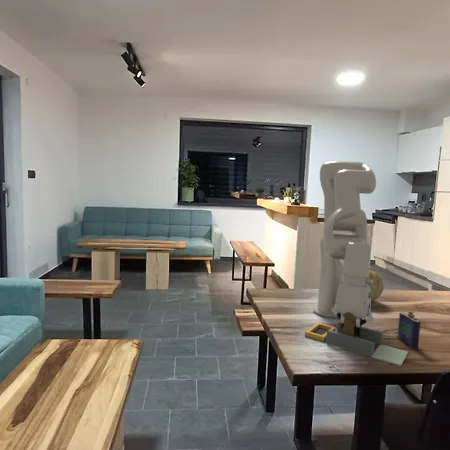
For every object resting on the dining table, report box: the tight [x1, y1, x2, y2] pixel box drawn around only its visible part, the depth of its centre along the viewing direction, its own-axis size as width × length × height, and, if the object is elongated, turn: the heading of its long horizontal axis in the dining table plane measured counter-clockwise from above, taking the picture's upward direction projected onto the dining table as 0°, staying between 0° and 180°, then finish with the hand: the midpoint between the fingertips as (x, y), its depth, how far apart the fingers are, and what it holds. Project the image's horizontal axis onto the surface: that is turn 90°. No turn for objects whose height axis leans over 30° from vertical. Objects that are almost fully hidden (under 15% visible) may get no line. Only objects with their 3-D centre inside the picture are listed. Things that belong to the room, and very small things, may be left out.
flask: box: [396, 310, 421, 350], centre depth 119 cm, size 9×3×11 cm, turn 8°
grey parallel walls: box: [325, 320, 384, 358], centre depth 117 cm, size 12×14×4 cm
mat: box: [371, 344, 409, 367], centre depth 110 cm, size 11×8×1 cm
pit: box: [304, 322, 337, 342], centre depth 123 cm, size 11×6×2 cm, turn 144°
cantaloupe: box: [368, 267, 384, 303], centre depth 163 cm, size 15×15×15 cm
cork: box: [341, 312, 358, 338], centre depth 117 cm, size 6×6×11 cm
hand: (350, 335), depth 118 cm, fingers closed on cork, 3 cm apart
